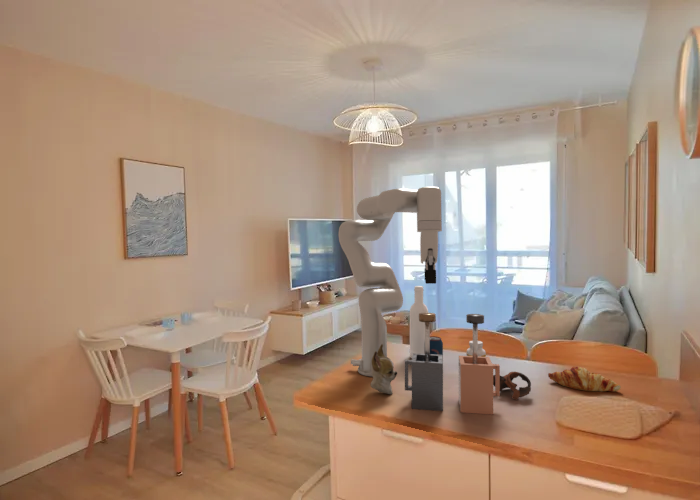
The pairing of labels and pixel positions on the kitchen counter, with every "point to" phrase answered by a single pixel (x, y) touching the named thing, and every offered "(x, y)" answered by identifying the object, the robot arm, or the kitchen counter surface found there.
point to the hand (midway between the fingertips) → (430, 281)
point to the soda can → (436, 346)
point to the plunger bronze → (427, 331)
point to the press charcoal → (426, 382)
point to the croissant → (584, 380)
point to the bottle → (417, 323)
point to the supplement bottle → (480, 351)
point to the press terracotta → (477, 385)
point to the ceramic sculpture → (382, 372)
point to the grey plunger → (475, 332)
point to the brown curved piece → (507, 383)
